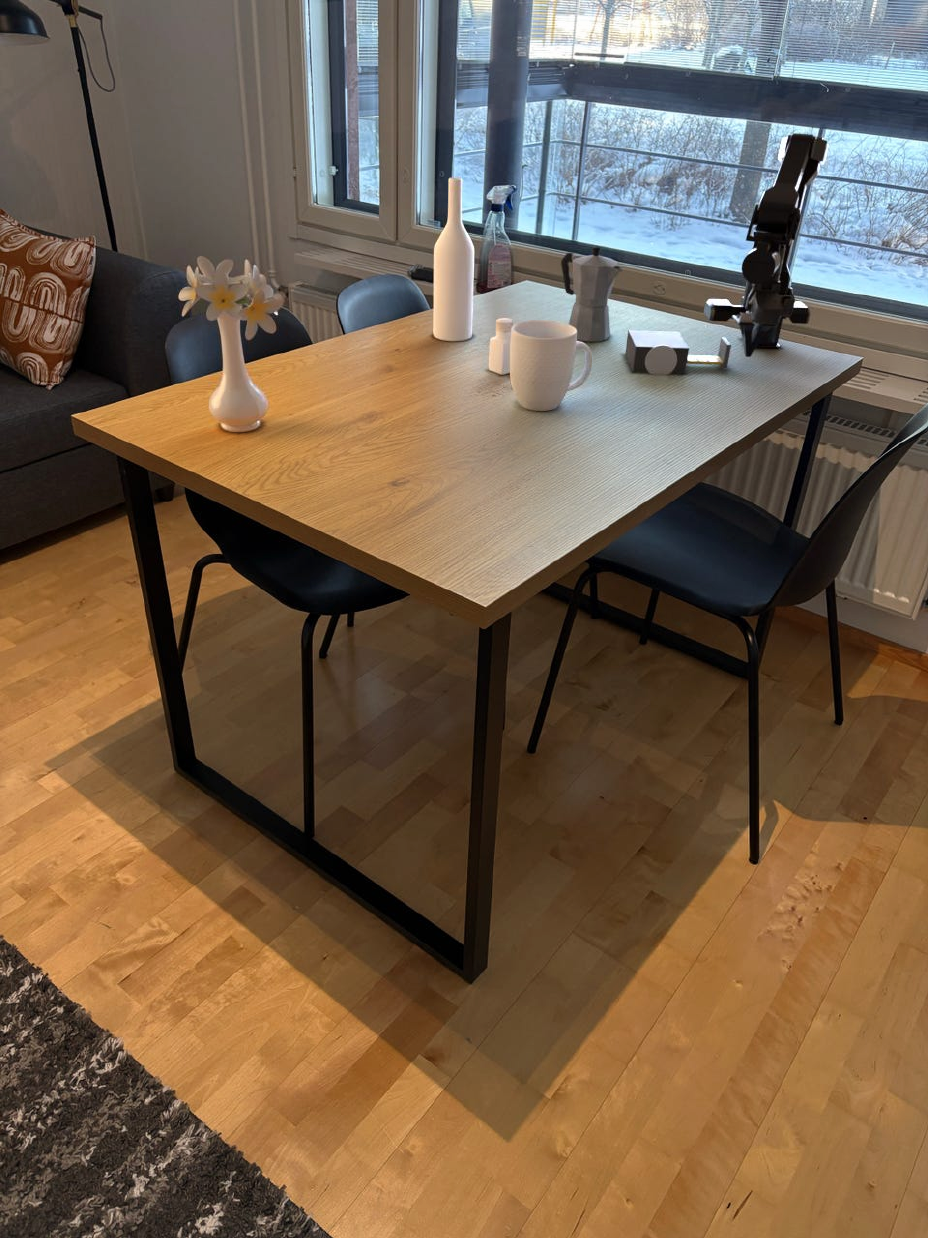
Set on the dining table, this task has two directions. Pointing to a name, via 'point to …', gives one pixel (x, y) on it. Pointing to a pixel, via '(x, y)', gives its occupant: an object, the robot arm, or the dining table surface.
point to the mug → (544, 363)
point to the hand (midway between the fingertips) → (747, 356)
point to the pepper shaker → (501, 347)
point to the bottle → (453, 273)
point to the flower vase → (234, 336)
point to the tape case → (656, 352)
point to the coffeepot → (590, 293)
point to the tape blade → (719, 359)
